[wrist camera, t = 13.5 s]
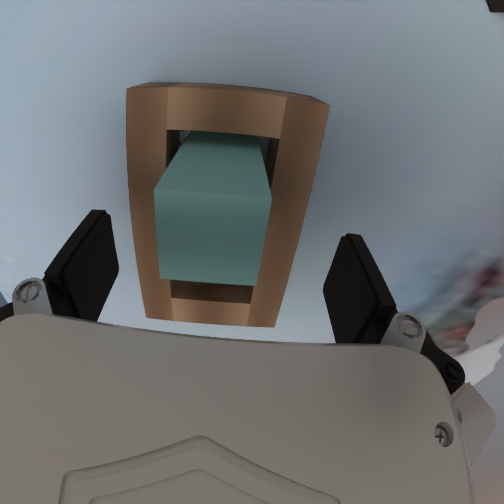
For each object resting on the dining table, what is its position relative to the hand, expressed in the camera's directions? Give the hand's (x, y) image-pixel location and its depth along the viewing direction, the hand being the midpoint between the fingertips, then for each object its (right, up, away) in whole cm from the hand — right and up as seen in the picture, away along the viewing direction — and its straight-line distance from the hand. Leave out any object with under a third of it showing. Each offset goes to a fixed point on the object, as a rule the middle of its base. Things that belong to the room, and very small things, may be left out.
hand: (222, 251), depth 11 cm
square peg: (-1, +6, +8) cm, 11 cm away
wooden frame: (-1, +3, +10) cm, 11 cm away
